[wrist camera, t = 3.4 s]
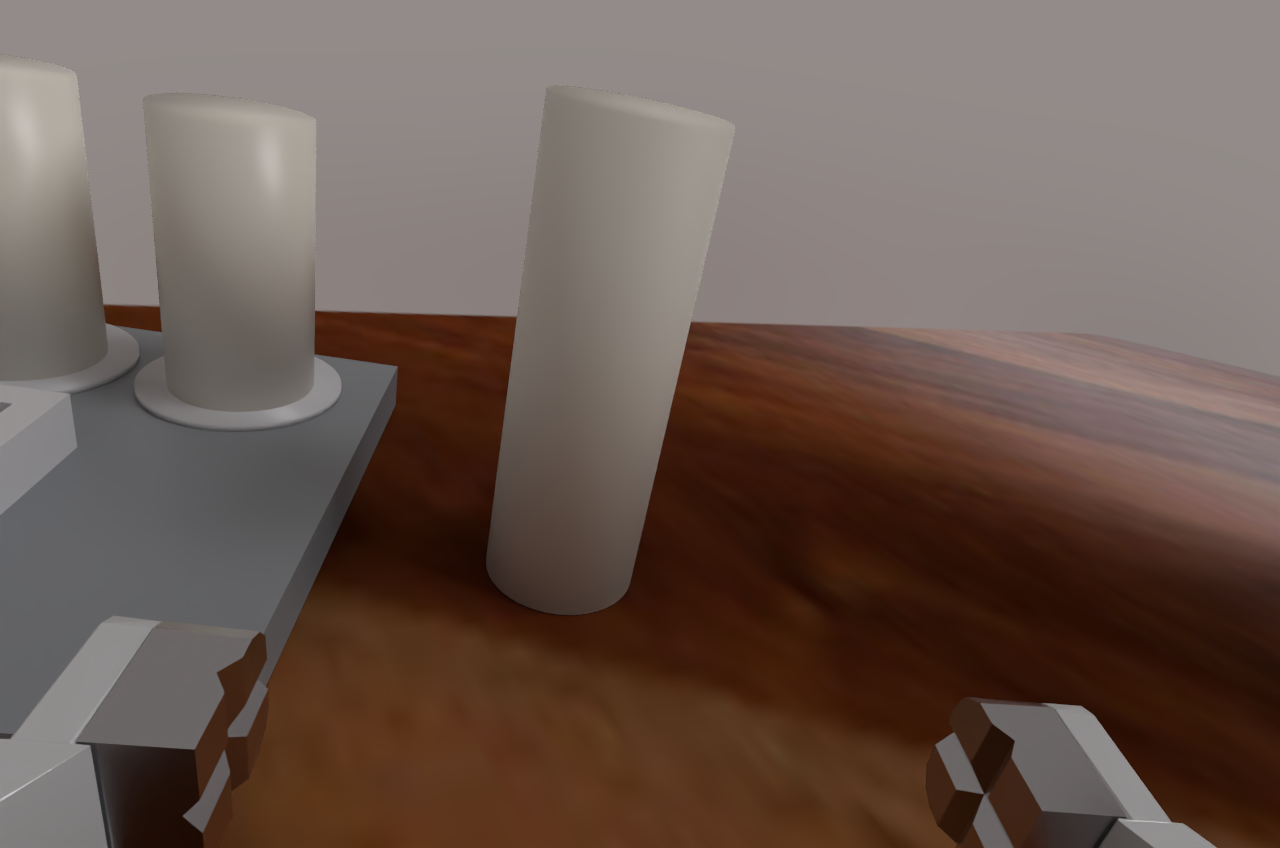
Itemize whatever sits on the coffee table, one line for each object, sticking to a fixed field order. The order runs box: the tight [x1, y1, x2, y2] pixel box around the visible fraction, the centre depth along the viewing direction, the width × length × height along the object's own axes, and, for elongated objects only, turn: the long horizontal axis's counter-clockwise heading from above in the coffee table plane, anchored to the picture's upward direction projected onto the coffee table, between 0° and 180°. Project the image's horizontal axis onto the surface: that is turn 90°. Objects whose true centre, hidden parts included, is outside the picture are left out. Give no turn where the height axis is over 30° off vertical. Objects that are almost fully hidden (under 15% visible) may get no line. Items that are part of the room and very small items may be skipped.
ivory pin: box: [486, 86, 736, 615], centre depth 19 cm, size 4×4×12 cm
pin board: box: [0, 54, 398, 739], centre depth 18 cm, size 14×16×10 cm
